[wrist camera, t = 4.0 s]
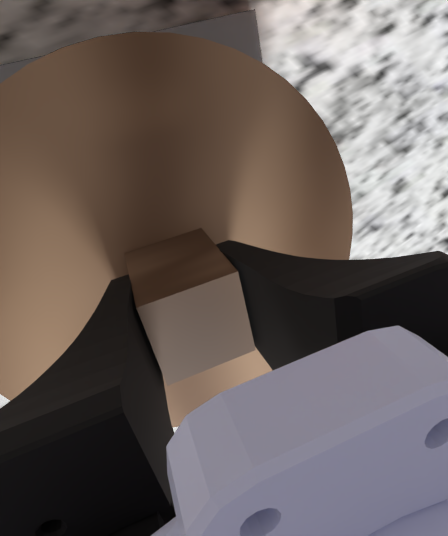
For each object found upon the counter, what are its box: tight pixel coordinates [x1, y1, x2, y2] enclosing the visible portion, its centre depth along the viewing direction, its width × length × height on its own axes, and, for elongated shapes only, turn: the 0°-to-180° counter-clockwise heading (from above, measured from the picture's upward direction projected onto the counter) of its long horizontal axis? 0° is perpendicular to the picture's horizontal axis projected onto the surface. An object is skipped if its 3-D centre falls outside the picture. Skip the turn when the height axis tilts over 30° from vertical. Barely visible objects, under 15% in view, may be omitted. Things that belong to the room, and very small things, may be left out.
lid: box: [0, 32, 353, 427], centre depth 12 cm, size 14×14×4 cm
